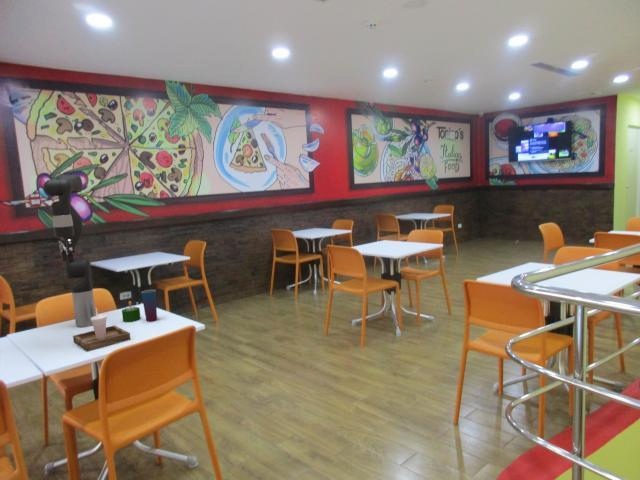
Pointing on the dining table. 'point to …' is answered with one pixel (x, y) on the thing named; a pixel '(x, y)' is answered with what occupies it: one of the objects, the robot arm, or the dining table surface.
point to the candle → (131, 313)
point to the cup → (150, 305)
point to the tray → (91, 343)
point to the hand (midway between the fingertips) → (68, 261)
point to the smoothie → (99, 325)
